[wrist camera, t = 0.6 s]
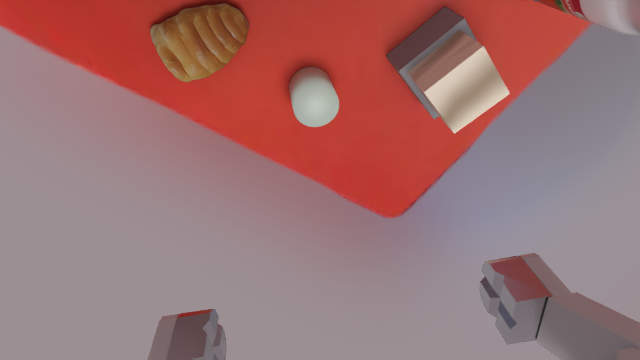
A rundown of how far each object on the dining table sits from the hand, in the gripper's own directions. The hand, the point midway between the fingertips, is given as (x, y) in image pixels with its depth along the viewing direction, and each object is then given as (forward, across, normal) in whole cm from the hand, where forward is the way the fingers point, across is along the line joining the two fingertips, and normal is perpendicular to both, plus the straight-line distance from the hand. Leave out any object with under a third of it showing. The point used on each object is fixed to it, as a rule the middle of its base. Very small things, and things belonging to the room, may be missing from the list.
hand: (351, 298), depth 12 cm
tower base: (+37, -16, +4) cm, 41 cm away
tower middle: (+32, -16, +5) cm, 36 cm away
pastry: (+36, +10, -2) cm, 37 cm away
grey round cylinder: (+36, -1, +5) cm, 37 cm away
